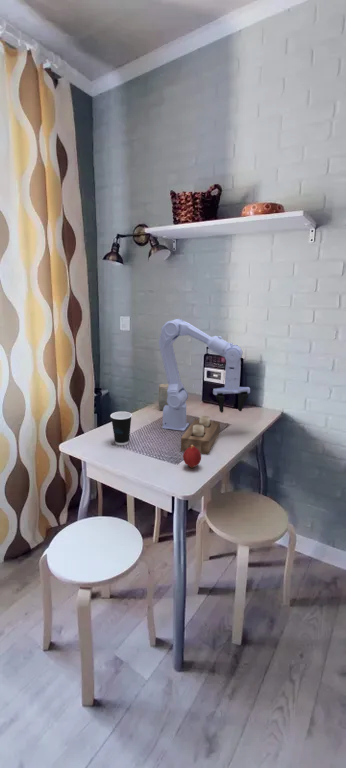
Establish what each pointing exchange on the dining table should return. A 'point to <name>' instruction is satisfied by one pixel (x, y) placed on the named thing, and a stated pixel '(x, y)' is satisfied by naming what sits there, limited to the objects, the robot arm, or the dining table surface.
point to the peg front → (198, 430)
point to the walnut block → (204, 442)
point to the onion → (192, 456)
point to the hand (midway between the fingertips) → (230, 411)
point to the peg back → (204, 421)
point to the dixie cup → (121, 427)
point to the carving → (162, 396)
